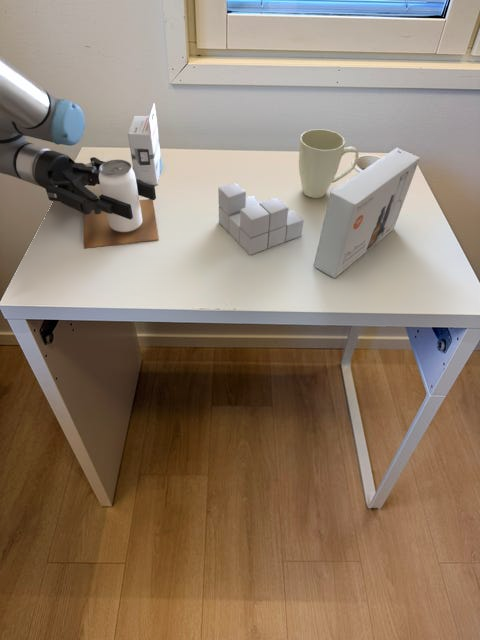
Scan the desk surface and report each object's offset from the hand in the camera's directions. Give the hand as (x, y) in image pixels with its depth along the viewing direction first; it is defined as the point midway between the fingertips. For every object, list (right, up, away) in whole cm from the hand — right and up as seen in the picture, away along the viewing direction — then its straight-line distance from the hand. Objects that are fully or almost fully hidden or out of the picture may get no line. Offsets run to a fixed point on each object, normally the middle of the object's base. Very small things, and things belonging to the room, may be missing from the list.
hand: (142, 202), depth 85 cm
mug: (+35, +7, +18) cm, 40 cm away
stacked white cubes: (+22, -3, +8) cm, 23 cm away
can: (-5, -3, +6) cm, 8 cm away
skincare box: (+40, -8, +5) cm, 41 cm away
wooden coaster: (-6, -2, +8) cm, 11 cm away
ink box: (-3, +11, +21) cm, 24 cm away
